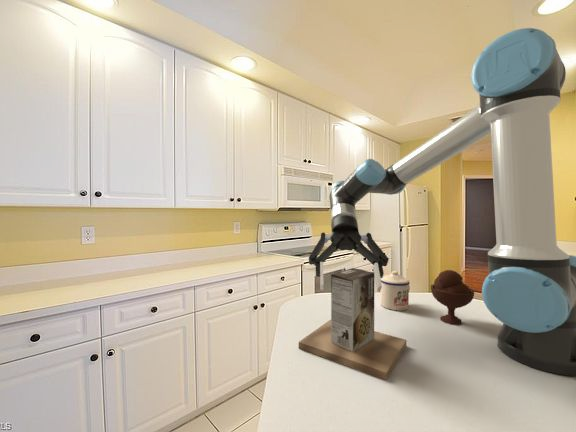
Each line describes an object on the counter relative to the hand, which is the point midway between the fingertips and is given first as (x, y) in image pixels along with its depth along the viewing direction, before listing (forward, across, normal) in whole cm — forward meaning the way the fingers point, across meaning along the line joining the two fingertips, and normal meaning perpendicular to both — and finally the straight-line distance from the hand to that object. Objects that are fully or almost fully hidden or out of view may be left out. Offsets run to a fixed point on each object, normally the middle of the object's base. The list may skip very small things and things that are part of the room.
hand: (350, 288), depth 66 cm
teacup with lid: (-10, -19, -29) cm, 36 cm away
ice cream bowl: (-2, -31, -21) cm, 37 cm away
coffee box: (+10, 0, -7) cm, 12 cm away
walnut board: (+11, 0, -8) cm, 14 cm away
